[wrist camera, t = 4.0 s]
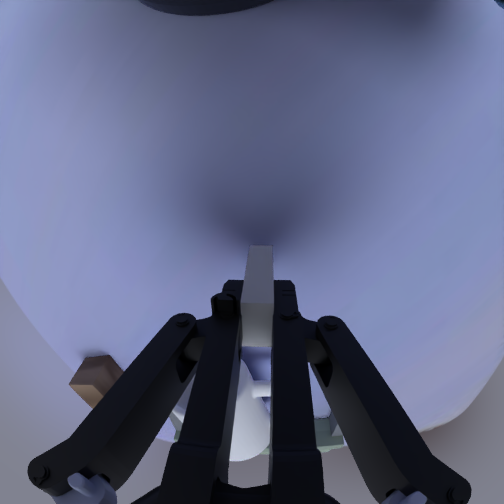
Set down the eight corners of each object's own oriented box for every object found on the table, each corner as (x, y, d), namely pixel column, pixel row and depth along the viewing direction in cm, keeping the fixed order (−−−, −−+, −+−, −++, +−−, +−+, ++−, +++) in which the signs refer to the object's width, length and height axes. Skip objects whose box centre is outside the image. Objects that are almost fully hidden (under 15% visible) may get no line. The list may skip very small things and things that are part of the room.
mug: (211, 406, 29) (201, 461, 22) (175, 354, 26) (153, 417, 18) (309, 395, 27) (314, 455, 20) (293, 336, 24) (299, 409, 16)
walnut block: (85, 357, 28) (68, 384, 23) (110, 354, 27) (92, 385, 22) (108, 383, 30) (94, 410, 25) (133, 382, 29) (120, 412, 24)
